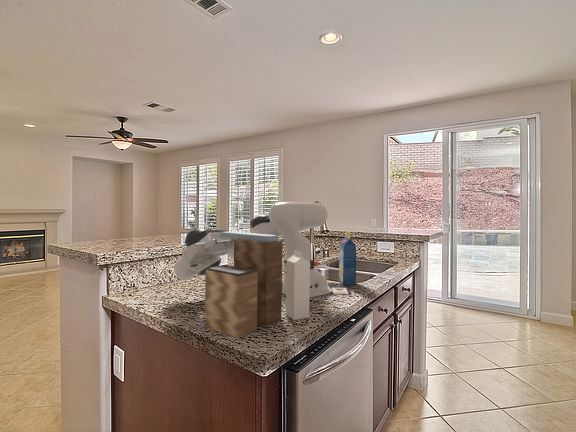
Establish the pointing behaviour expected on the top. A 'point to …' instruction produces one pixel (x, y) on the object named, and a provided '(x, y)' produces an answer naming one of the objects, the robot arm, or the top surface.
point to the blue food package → (347, 261)
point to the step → (231, 300)
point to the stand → (263, 275)
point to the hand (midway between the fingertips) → (225, 239)
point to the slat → (249, 236)
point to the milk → (297, 286)
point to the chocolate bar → (339, 288)
